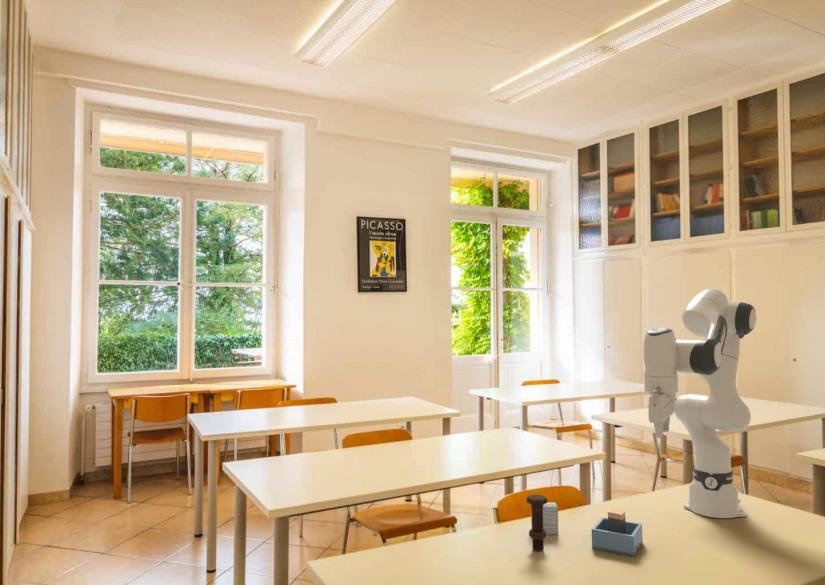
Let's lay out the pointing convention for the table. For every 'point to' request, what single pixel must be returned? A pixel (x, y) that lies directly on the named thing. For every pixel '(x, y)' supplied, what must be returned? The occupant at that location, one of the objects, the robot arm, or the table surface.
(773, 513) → the table surface
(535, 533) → the bolt
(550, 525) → the medicine box
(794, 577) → the table surface
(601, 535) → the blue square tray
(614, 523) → the block
